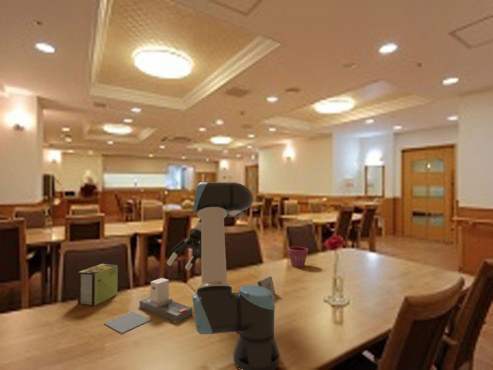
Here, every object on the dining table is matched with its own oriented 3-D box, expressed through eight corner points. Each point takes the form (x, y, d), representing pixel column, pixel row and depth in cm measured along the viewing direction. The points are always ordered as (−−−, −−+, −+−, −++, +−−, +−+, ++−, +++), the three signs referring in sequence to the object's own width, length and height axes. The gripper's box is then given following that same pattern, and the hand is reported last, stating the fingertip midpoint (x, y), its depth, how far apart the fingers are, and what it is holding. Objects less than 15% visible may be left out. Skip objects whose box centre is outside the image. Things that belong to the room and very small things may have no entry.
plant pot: (310, 265, 201) (310, 247, 201) (303, 269, 189) (304, 251, 190) (292, 262, 209) (292, 245, 209) (285, 266, 197) (285, 248, 197)
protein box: (117, 294, 144) (118, 264, 144) (94, 306, 129) (94, 273, 130) (101, 292, 147) (102, 263, 147) (77, 303, 132) (77, 271, 132)
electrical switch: (265, 299, 139) (264, 280, 140) (257, 297, 142) (256, 279, 143) (275, 293, 146) (274, 276, 147) (267, 292, 150) (266, 275, 150)
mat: (150, 320, 116) (150, 319, 116) (121, 333, 105) (121, 332, 105) (132, 312, 123) (132, 311, 123) (104, 324, 112) (104, 323, 112)
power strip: (192, 314, 121) (192, 305, 121) (176, 322, 114) (176, 312, 114) (155, 300, 136) (155, 292, 136) (139, 307, 129) (139, 298, 129)
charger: (168, 301, 128) (168, 279, 129) (157, 306, 123) (157, 283, 123) (161, 298, 131) (162, 277, 131) (150, 303, 126) (150, 281, 126)
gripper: (219, 239, 144) (199, 275, 131) (186, 234, 158) (165, 266, 145) (212, 230, 139) (191, 266, 127) (179, 226, 154) (157, 258, 141)
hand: (177, 266), depth 136 cm, fingers open, 13 cm apart
